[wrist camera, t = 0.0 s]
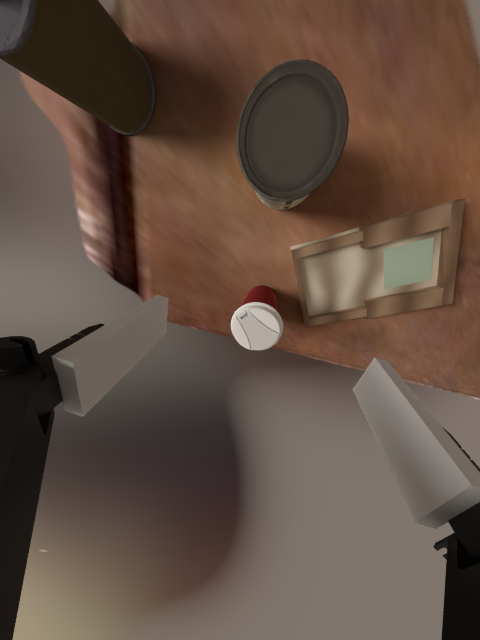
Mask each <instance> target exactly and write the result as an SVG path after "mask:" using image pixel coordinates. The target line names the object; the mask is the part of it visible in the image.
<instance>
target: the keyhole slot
mask: <svg viewBox="0 0 480 640" xmlns="http://www.w3.org/2000/svg"><path fill="white" fill-rule="evenodd" d="M464 205H465V199H460V200H453V201H450V202H446V203H443V204H439V205H436V206H432V207H429V208H425V209H422V210H418V211H415V212H411V213H408V214H404V215H400V216H397V217H393V218H390V219H386V220H383V221H379V222H376V223H372V224H369V225H365V226H362V227H358V228H355V229H351V230H348V231H344V232H340V233H337V234H333V235H330V236H326V237H323V238H319V239H316V240H312V241H309V242H305V243H302V244H298V245H295V246H291V247H290V248H291V254H292V259H293V265H294V270H295V276H296V281H297V287H298V292H299V298H300V303H301V309H302V314H303V319H304V325H305V327H310V326H315V325H321V324H327V323H332V322H338V321H344V320H349V319H355V318H360V317H366V318H367V319H368V318H374V317H380V316H386V315H391V314H397V313H403V312H409V311H414V310H420V309H426V308H431V307H437V306H443V305H449V304H452V302H453V294H454V286H455V278H456V270H457V262H458V254H459V246H460V238H461V229H462V221H463V213H464ZM432 237H434V245H433V258H432V272H431V280H428V281H423V282H418V283H413V284H408V285H403V286H399V287H394V288H389V289H384V254H383V250H384V249H388V248H392V247H396V246H400V245H404V244H408V243H412V242H416V241H420V240H424V239H428V238H432Z"/></svg>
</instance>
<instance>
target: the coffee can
mask: <svg viewBox="0 0 480 640" xmlns="http://www.w3.org/2000/svg"><path fill="white" fill-rule="evenodd" d="M348 122H349V118H348V107H347V102H346V98H345V95H344V91H343V89H342V87H341V85H340V83H339V81H338V80H337V78H336V77H335V76H334V75H333V73H332V72H331V71H329V70H328V69H327V68H326V67H324V66H322V65H320V64H318V63H317V62H313V61H310V60H292V61H288V62H285V63H283V64H280V65H278V66H276V67H274V68H273V69H272V70H270V71H269V72H268V73H266V74H265V75H264V76H263V77H262V78H261V79H260V80H259V82H258V83H257V84H256V85H255V86H254V88H253V89H252V91H251V92H250V94H249V96H248V98H247V100H246V101H245V104H244V106H243V109H242V112H241V114H240V118H239V123H238V128H237V138H236V145H237V155H238V160H239V164H240V167H241V169H242V172H243V174H244V176H245V178H246V180H247V181H248V183H249V184H250V185H251V186H252V188H253V189H254V190H255V192H256V194H257V196H258V197H259V199H260V200H261V201H262V202H263V203H264V204H265V205H267V206H268V207H270V208H273V209H276V210H286V209H290V208H293V207H295V206H297V205H298V204H300V203H301V202H302V201H303V200H304V199H305V198H306V197H307V196H308V195H309V194H310V193H311V192H313V191H314V190H316V189H317V188H318V187H319V186H320V185H321V184H323V183H324V182H325V180H326V179H327V178H328V177H329V176H330V174H331V173H332V172H333V170H334V168H335V167H336V165H337V163H338V161H339V159H340V157H341V154H342V152H343V149H344V146H345V142H346V138H347V133H348Z"/></svg>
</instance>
